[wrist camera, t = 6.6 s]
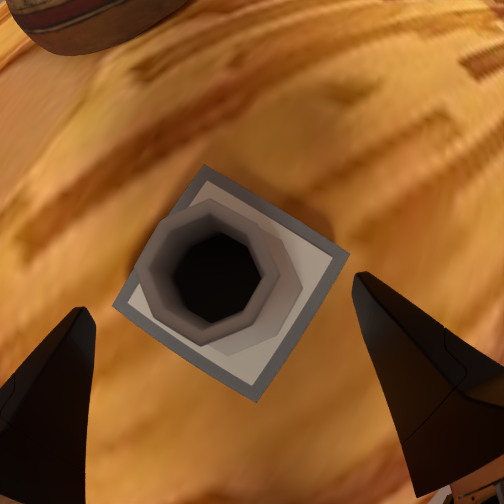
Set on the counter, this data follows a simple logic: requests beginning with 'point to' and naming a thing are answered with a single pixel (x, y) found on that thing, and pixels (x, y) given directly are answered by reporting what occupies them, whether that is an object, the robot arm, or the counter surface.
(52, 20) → the ceramic pitcher
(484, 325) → the counter surface
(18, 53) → the counter surface
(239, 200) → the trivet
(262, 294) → the flask
